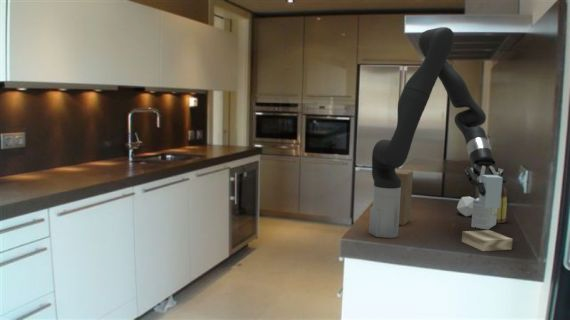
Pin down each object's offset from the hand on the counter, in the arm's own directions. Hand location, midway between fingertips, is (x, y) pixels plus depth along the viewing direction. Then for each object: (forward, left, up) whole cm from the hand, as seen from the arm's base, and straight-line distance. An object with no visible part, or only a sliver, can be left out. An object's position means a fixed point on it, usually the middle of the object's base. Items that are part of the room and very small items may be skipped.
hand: (492, 194), depth 159 cm
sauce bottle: (+27, +30, -18) cm, 44 cm away
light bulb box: (+17, +25, -18) cm, 35 cm away
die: (+22, +42, -18) cm, 51 cm away
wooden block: (-15, +37, -18) cm, 43 cm away
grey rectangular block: (0, +2, -4) cm, 5 cm away
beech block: (0, +2, -17) cm, 18 cm away
